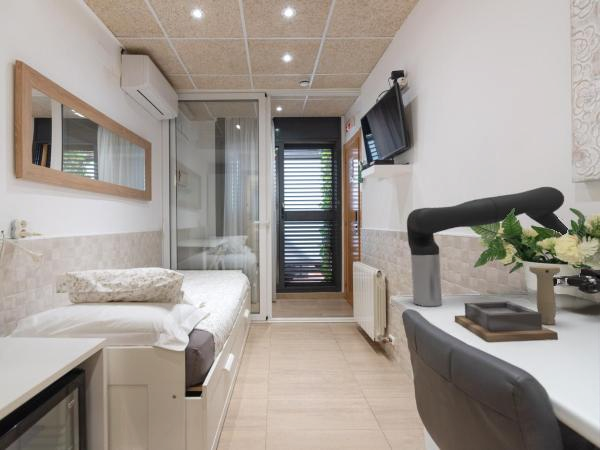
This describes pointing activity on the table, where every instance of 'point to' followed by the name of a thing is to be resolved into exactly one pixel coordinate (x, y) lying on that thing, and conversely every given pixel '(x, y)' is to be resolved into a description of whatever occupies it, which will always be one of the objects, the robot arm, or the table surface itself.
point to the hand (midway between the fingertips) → (564, 285)
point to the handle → (545, 292)
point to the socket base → (504, 323)
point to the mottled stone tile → (499, 310)
